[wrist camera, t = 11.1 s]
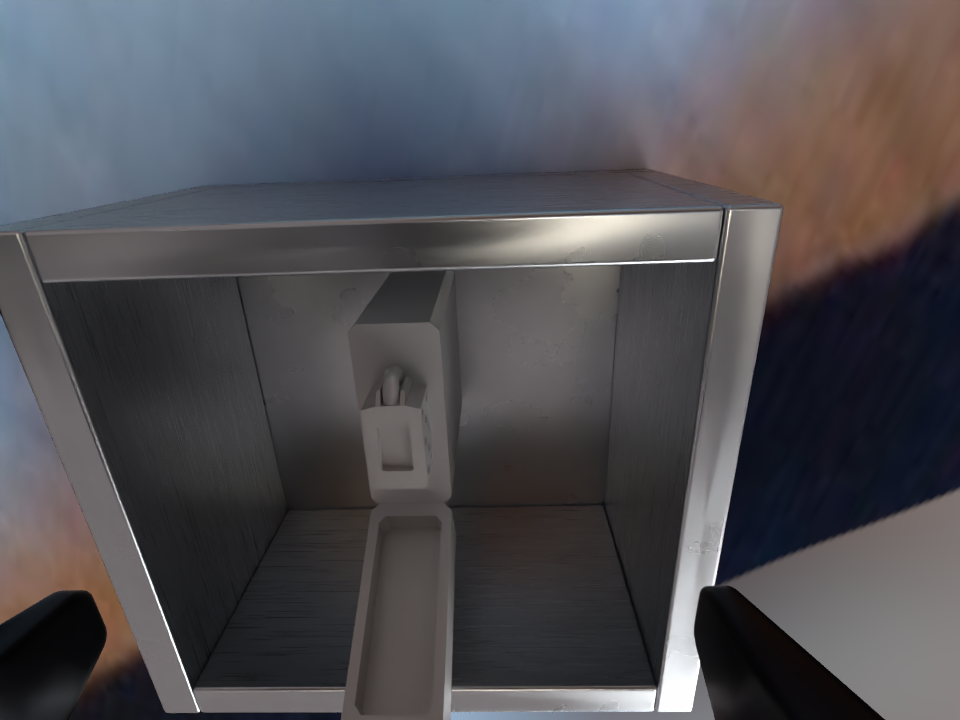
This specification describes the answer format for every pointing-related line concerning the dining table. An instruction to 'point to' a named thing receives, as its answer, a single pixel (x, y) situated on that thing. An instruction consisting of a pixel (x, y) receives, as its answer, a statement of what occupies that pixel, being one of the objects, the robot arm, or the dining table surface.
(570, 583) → the metal box
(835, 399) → the dining table surface
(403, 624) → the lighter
